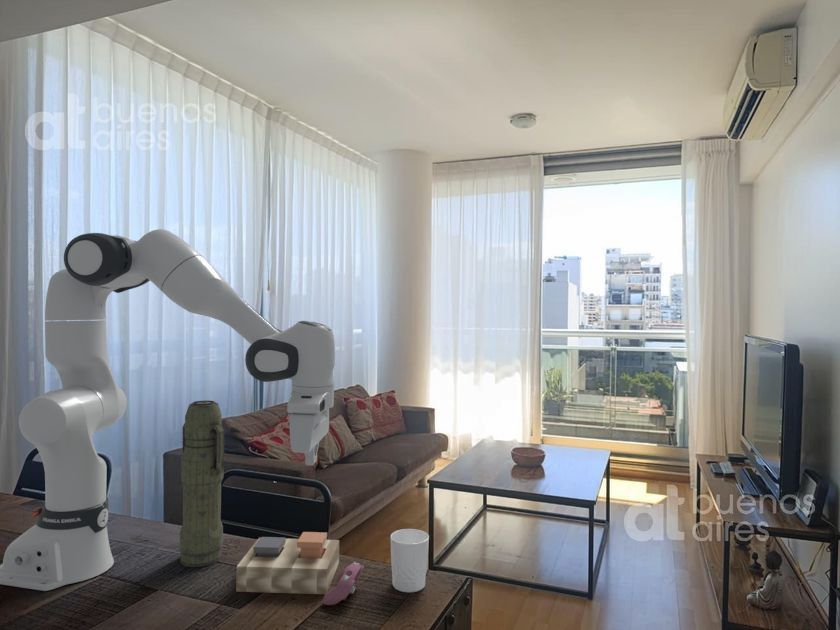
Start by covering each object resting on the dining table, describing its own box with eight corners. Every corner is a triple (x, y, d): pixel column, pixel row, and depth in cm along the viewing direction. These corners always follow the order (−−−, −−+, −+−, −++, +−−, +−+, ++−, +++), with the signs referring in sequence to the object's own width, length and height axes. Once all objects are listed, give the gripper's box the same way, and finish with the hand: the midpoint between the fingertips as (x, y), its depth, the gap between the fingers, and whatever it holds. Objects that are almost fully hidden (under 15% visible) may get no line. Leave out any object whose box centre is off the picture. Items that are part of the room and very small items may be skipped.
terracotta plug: (296, 574, 115) (297, 541, 115) (302, 563, 120) (303, 531, 120) (321, 575, 114) (322, 542, 114) (326, 563, 120) (327, 532, 120)
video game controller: (340, 616, 105) (357, 585, 104) (319, 603, 106) (336, 572, 105) (355, 591, 115) (371, 562, 114) (336, 579, 115) (351, 550, 115)
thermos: (195, 546, 131) (197, 397, 131) (235, 555, 127) (238, 401, 127) (165, 561, 123) (167, 402, 123) (207, 571, 118) (209, 407, 118)
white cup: (391, 575, 119) (392, 528, 119) (428, 576, 118) (429, 529, 118) (388, 593, 111) (388, 543, 111) (427, 595, 110) (428, 544, 110)
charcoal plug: (253, 579, 115) (253, 546, 115) (260, 567, 120) (261, 536, 120) (278, 580, 115) (278, 547, 115) (284, 568, 120) (285, 537, 120)
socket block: (236, 591, 110) (236, 566, 110) (258, 560, 124) (259, 537, 124) (326, 594, 110) (327, 569, 110) (338, 562, 124) (339, 540, 124)
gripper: (309, 390, 128) (307, 450, 128) (284, 405, 108) (282, 477, 108) (336, 391, 128) (335, 451, 128) (317, 406, 108) (315, 478, 108)
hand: (310, 463), depth 118 cm, fingers closed
